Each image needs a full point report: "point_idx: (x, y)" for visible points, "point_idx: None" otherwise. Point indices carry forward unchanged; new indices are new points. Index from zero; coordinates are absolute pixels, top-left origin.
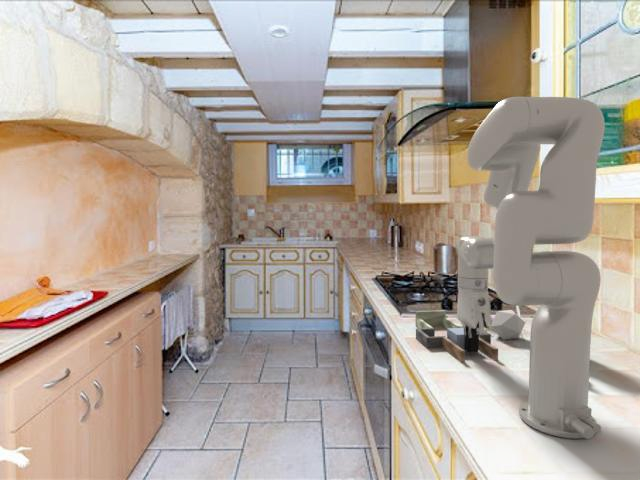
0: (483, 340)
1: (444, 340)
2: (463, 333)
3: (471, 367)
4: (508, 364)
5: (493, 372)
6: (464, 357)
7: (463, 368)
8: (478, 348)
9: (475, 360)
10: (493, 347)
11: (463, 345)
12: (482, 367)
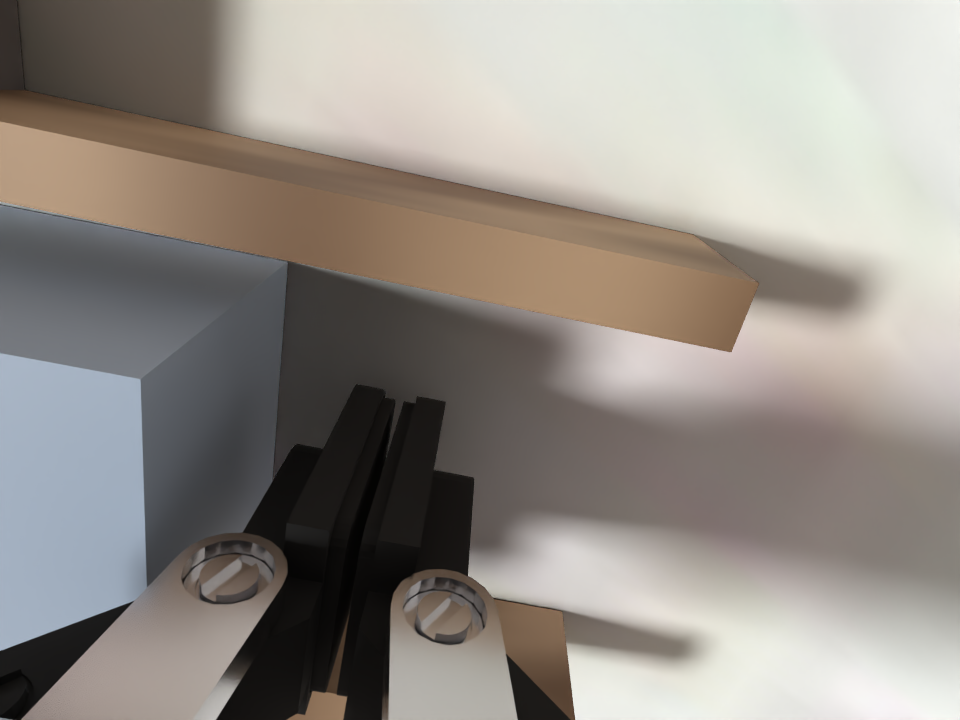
0: (219, 185)
1: None
2: (83, 615)
3: (699, 633)
4: (878, 205)
5: (923, 540)
6: (564, 662)
7: (680, 699)
8: (440, 417)
9: (559, 486)
10: (649, 303)
11: (237, 503)
12: (759, 549)
